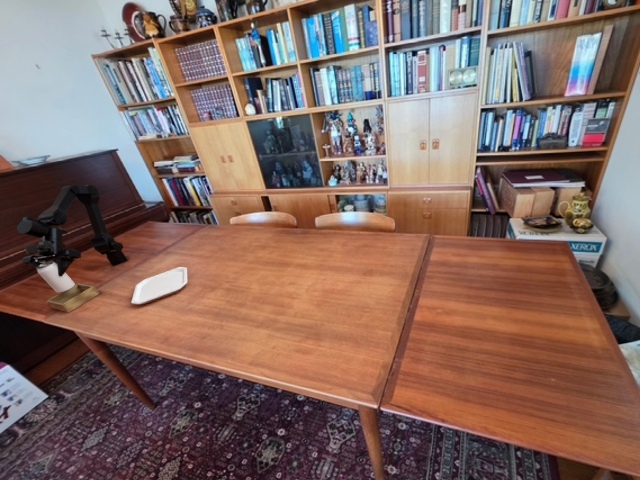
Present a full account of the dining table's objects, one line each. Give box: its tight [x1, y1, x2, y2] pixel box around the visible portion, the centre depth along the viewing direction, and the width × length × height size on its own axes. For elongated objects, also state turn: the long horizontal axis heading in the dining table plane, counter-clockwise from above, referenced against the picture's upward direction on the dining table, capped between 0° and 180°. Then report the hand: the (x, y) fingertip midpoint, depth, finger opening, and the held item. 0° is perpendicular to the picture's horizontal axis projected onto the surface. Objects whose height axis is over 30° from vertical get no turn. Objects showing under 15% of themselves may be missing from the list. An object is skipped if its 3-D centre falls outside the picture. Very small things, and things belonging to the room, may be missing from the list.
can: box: [35, 260, 76, 294], centre depth 120 cm, size 6×6×12 cm
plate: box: [130, 266, 188, 306], centre depth 124 cm, size 21×21×2 cm
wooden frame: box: [46, 283, 100, 313], centre depth 126 cm, size 12×12×4 cm
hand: (52, 277), depth 119 cm, fingers closed on can, 6 cm apart
